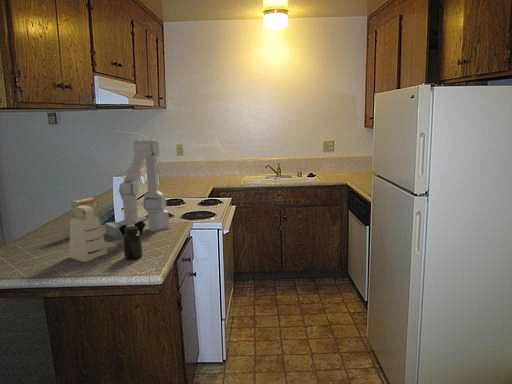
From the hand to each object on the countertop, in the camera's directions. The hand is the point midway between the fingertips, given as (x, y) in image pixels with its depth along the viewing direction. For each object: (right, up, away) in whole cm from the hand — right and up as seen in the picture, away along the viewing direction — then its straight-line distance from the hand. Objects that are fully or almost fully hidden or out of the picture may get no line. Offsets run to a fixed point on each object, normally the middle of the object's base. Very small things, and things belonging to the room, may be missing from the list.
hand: (133, 240), depth 186 cm
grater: (-14, -5, -14) cm, 20 cm away
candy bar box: (-27, +1, +18) cm, 32 cm away
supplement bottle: (+5, -5, -17) cm, 19 cm away
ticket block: (-11, +1, +13) cm, 17 cm away
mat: (-7, 0, +9) cm, 11 cm away
